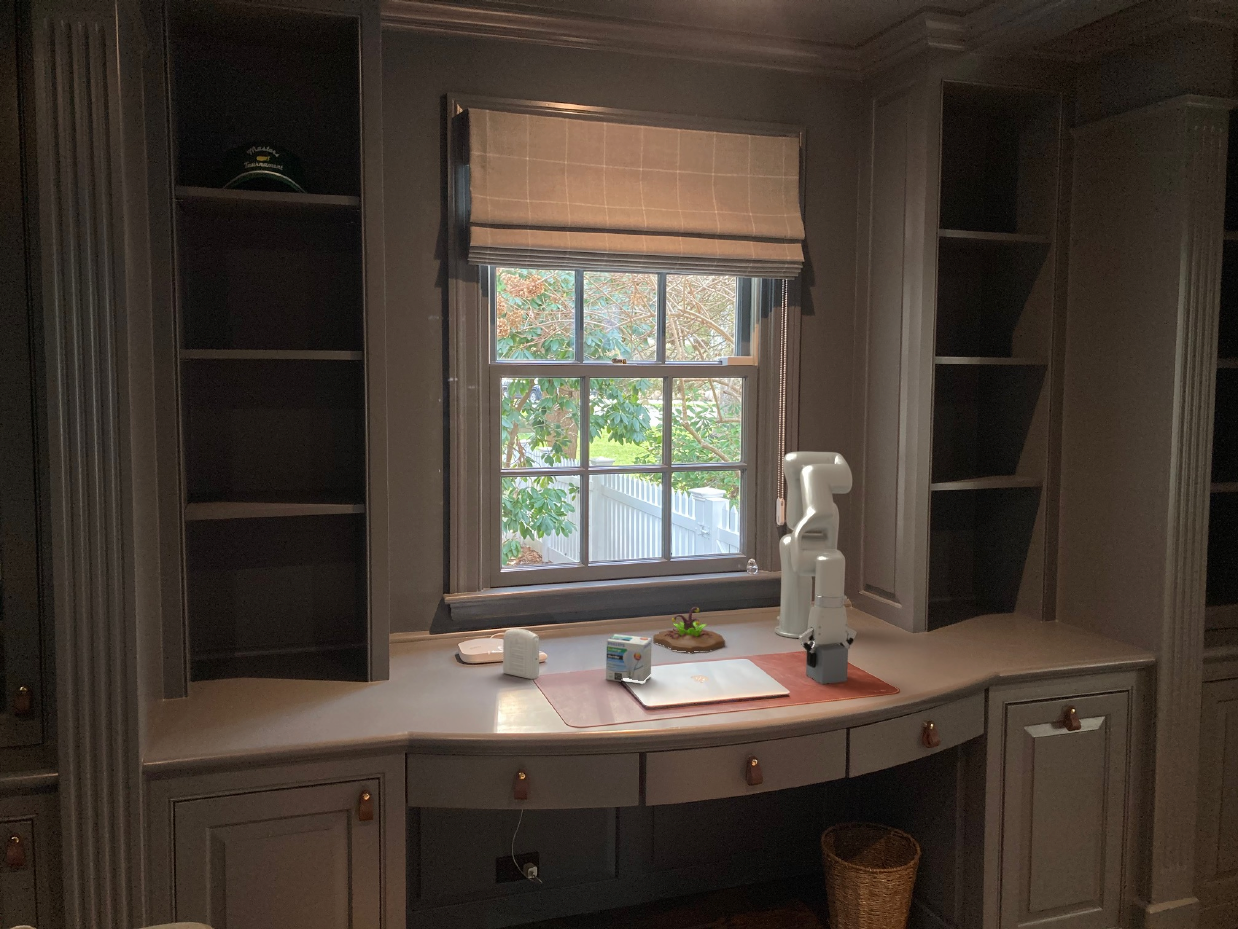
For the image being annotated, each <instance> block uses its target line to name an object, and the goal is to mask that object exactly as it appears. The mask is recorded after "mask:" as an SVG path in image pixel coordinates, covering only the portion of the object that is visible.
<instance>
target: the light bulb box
mask: <svg viewBox="0 0 1238 929" xmlns="http://www.w3.org/2000/svg"><path fill="white" fill-rule="evenodd" d="M652 641H653V638H651V637H642V636H636V635H635V636H634V635H633V636H632V635H625V634H617V633H614V634H613V635H612V636H611V637H610V638H608V639H607V640H606V656H605V657H606V659H605V660H606V661H605V662H606V664H605V680H607V681H613V682H620V683H622V682H621V679H623V678H629V679H632V680H638V681H644V680H645V679H646V678H647V677H648V676H649V675H650V674H651V675H652V646H653V644H652Z"/></svg>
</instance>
